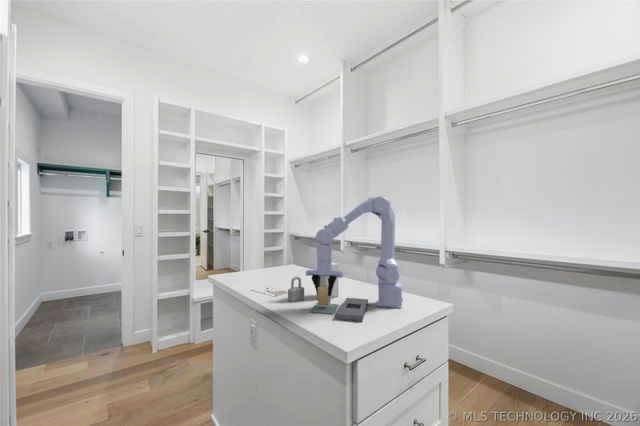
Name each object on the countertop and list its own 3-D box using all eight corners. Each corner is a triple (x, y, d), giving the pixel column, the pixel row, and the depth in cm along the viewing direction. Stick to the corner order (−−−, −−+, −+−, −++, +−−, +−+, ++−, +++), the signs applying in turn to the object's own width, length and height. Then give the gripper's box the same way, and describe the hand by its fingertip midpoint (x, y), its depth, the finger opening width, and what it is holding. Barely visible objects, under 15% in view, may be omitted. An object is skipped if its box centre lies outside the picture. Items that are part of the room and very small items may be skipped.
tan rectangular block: (330, 302, 112) (330, 284, 112) (328, 305, 108) (327, 287, 108) (320, 302, 113) (320, 284, 113) (317, 305, 109) (317, 286, 109)
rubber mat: (338, 305, 115) (338, 304, 115) (332, 314, 104) (332, 313, 104) (317, 303, 117) (317, 302, 117) (308, 312, 107) (308, 311, 107)
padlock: (299, 297, 126) (299, 274, 126) (305, 299, 124) (305, 276, 124) (286, 300, 121) (286, 277, 121) (293, 302, 118) (293, 278, 118)
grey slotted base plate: (368, 304, 116) (368, 299, 116) (362, 321, 97) (362, 316, 97) (346, 302, 118) (346, 297, 119) (336, 319, 99) (336, 313, 99)
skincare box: (330, 293, 132) (330, 261, 132) (339, 296, 127) (339, 263, 127) (316, 297, 126) (316, 263, 127) (325, 300, 122) (325, 265, 122)
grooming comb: (290, 292, 134) (290, 291, 134) (274, 297, 127) (274, 296, 127) (265, 286, 146) (265, 285, 146) (249, 291, 138) (249, 289, 138)
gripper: (303, 260, 109) (303, 296, 109) (340, 262, 105) (340, 299, 105) (308, 258, 116) (308, 291, 116) (344, 259, 112) (344, 294, 112)
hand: (324, 295), depth 111 cm, fingers closed on tan rectangular block, 4 cm apart
